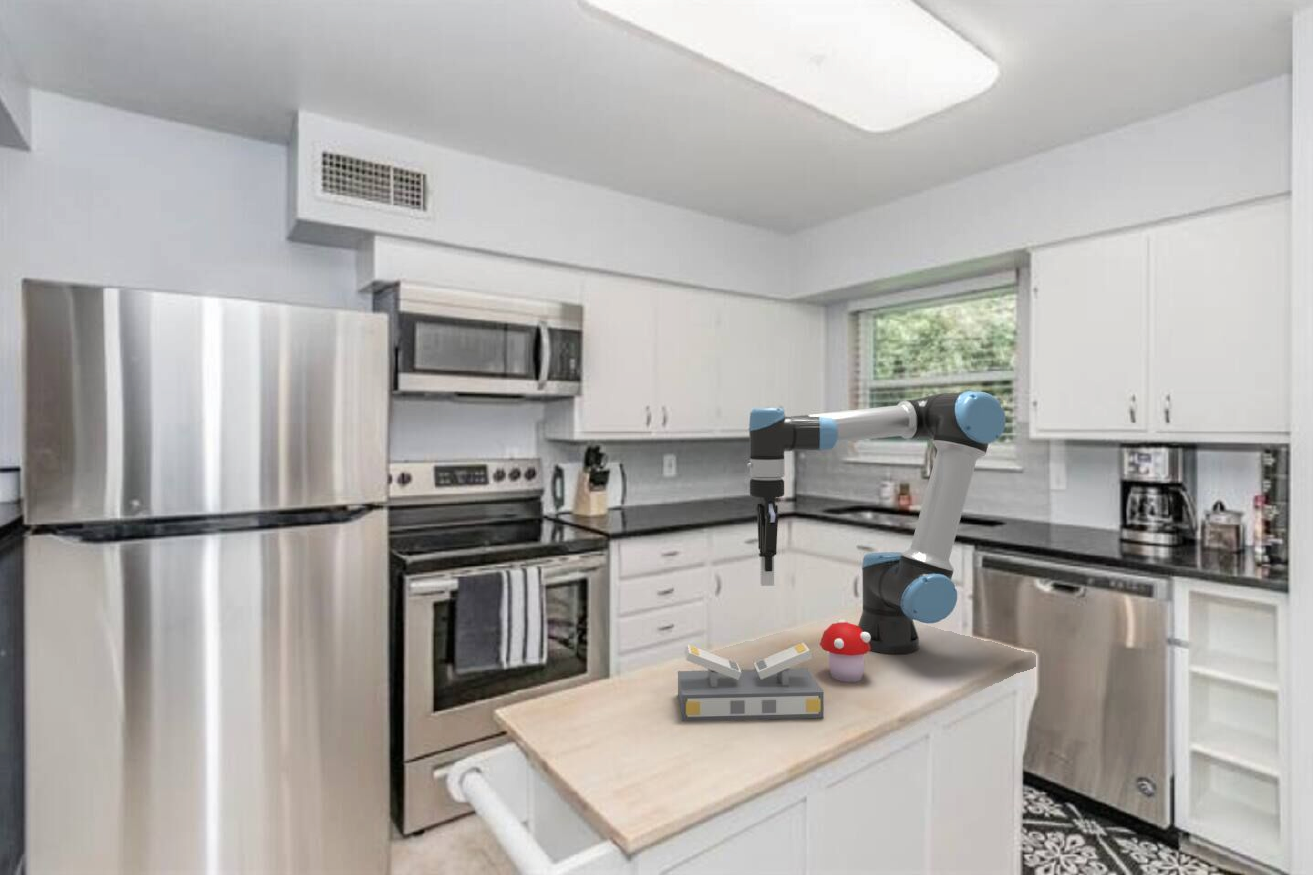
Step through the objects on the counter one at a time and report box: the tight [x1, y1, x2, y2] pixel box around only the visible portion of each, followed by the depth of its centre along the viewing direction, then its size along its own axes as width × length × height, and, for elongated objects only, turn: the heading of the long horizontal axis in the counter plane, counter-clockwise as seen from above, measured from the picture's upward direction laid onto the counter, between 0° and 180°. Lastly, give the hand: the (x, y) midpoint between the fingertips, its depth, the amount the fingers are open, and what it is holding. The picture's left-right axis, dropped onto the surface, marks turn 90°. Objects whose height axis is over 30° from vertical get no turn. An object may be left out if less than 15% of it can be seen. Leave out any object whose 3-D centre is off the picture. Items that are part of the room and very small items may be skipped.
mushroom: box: [819, 618, 871, 683], centre depth 147 cm, size 11×11×12 cm
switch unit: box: [677, 667, 825, 722], centre depth 132 cm, size 27×12×8 cm, turn 92°
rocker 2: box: [753, 641, 813, 679], centre depth 133 cm, size 11×5×2 cm, turn 91°
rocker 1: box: [684, 644, 742, 680], centre depth 132 cm, size 11×5×2 cm, turn 92°
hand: (767, 584), depth 147 cm, fingers closed
